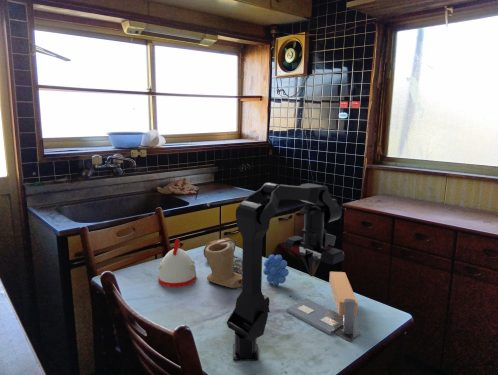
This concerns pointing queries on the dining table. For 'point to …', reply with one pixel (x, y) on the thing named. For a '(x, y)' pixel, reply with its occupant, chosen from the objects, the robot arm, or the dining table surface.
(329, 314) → the label plate
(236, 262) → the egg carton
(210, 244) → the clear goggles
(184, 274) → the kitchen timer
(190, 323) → the dining table surface
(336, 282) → the orange wooden beam
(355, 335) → the grey flat block
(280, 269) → the grapes
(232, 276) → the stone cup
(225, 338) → the dining table surface
